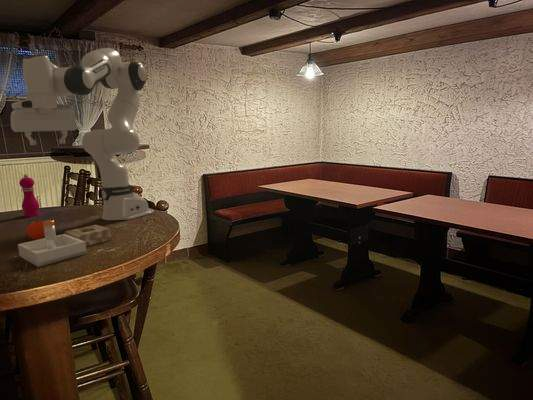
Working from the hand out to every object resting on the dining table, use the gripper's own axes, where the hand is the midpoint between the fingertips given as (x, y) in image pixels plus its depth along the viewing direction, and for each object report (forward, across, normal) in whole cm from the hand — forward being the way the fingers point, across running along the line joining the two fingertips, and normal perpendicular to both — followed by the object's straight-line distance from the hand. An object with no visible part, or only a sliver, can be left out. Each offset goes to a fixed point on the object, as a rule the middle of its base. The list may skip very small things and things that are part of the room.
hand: (48, 144), depth 133 cm
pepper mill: (+34, -8, -56) cm, 66 cm away
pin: (+33, +10, +19) cm, 39 cm away
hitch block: (+34, -4, +13) cm, 37 cm away
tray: (+34, +10, +19) cm, 40 cm away
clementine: (+34, +6, -6) cm, 35 cm away
